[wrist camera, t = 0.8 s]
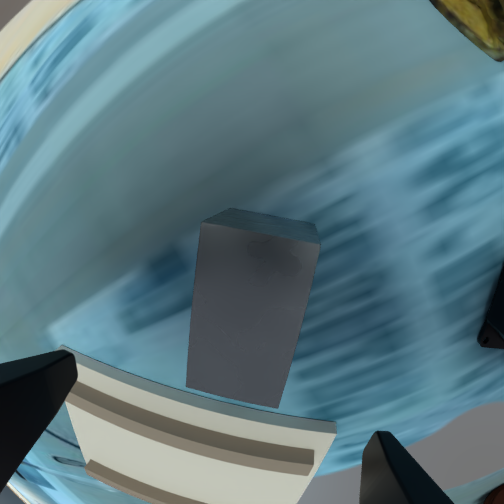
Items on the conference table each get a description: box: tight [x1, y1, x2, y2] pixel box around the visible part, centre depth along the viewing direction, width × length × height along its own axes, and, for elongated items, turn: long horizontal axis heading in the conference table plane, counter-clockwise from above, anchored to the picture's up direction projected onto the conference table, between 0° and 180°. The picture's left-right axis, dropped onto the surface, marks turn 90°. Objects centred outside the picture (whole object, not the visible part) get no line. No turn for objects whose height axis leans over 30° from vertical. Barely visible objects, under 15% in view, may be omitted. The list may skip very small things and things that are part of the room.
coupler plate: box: [55, 345, 337, 504], centre depth 21 cm, size 22×18×3 cm
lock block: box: [186, 208, 321, 409], centre depth 15 cm, size 4×8×5 cm, turn 171°
